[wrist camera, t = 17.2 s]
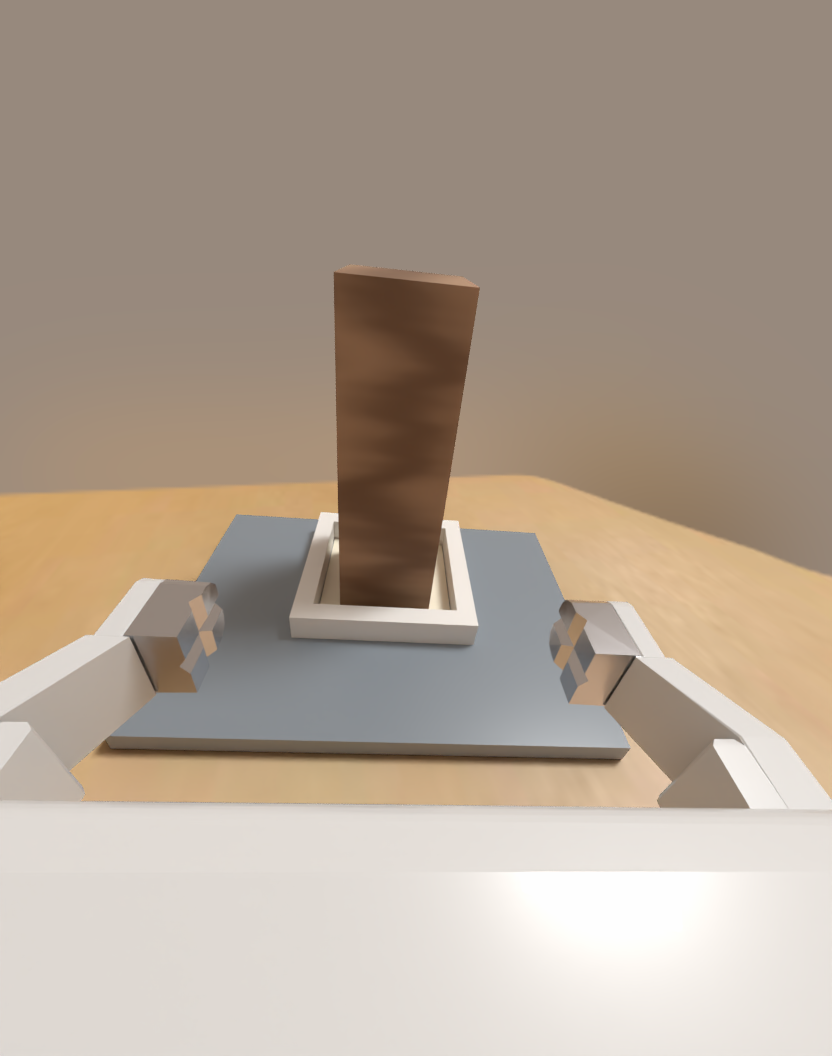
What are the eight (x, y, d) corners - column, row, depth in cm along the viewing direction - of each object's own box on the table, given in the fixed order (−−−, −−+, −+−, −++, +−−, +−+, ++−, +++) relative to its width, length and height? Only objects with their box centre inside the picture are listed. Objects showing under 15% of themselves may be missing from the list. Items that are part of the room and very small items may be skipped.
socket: (291, 637, 21) (288, 617, 20) (321, 530, 29) (320, 512, 28) (473, 644, 22) (478, 626, 21) (455, 538, 29) (458, 521, 29)
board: (110, 748, 17) (102, 735, 16) (238, 525, 30) (236, 514, 29) (621, 759, 18) (630, 747, 18) (531, 543, 32) (534, 533, 31)
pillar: (340, 606, 23) (333, 272, 14) (349, 550, 27) (349, 264, 18) (428, 610, 23) (479, 287, 14) (424, 554, 27) (462, 276, 18)
